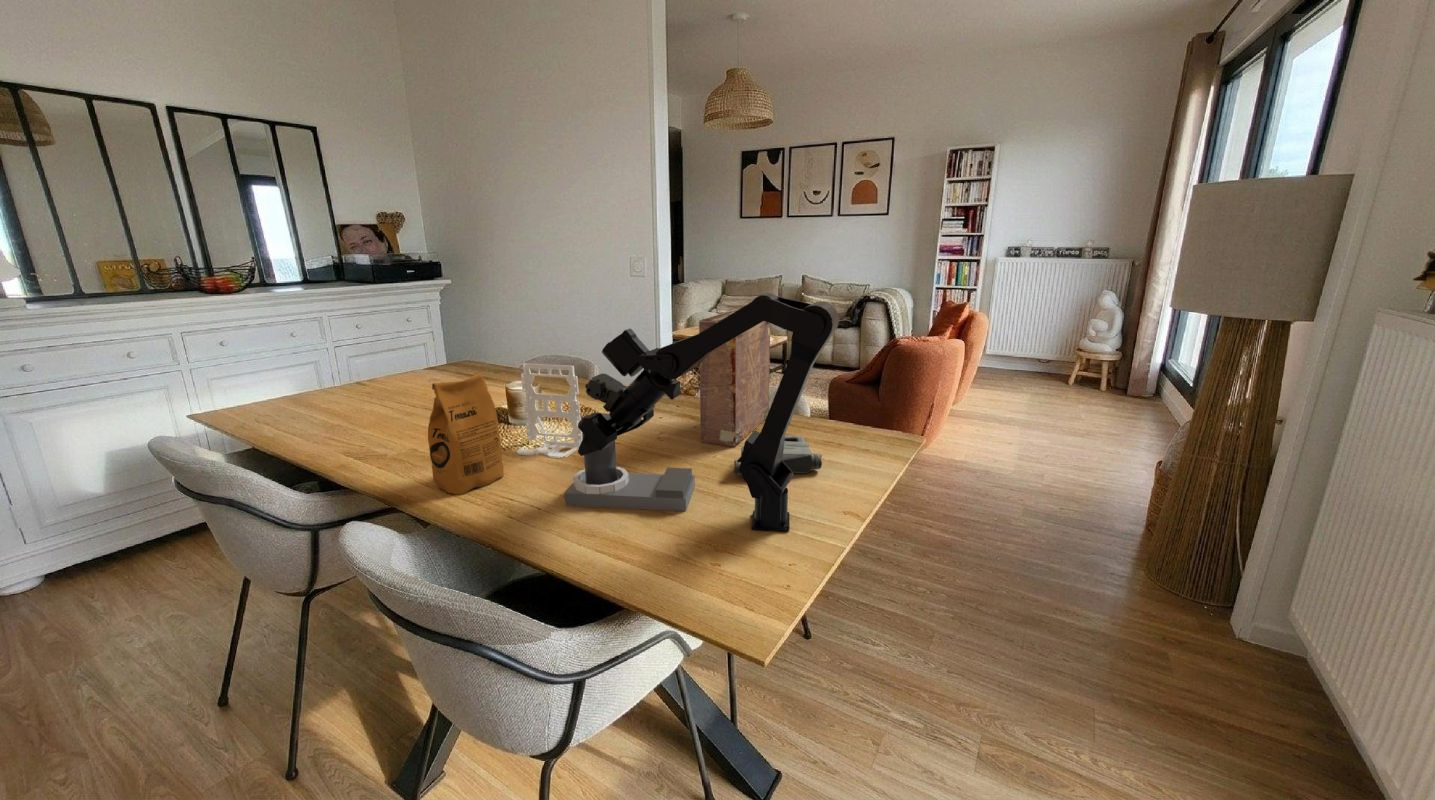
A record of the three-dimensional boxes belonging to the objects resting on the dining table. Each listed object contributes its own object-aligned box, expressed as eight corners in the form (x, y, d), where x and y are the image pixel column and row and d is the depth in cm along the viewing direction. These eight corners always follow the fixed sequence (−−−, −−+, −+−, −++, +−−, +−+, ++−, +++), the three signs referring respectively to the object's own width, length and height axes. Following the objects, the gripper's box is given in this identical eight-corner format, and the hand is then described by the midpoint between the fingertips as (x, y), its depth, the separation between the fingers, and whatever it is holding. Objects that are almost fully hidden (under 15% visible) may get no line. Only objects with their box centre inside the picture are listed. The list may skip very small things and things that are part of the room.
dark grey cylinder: (617, 487, 108) (613, 422, 104) (584, 489, 107) (579, 424, 103) (617, 474, 114) (614, 412, 110) (586, 476, 113) (581, 414, 109)
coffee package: (427, 487, 115) (411, 381, 109) (483, 467, 125) (470, 369, 119) (455, 499, 109) (439, 388, 103) (510, 477, 119) (499, 375, 113)
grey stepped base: (686, 511, 104) (685, 491, 103) (565, 505, 106) (563, 485, 105) (694, 486, 114) (694, 468, 113) (584, 482, 117) (582, 464, 116)
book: (738, 414, 162) (738, 308, 153) (769, 418, 158) (771, 309, 150) (700, 442, 139) (698, 320, 131) (735, 447, 136) (735, 322, 127)
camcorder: (829, 474, 120) (830, 451, 119) (736, 483, 116) (736, 460, 114) (801, 448, 136) (801, 428, 134) (717, 456, 131) (717, 434, 130)
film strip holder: (510, 454, 132) (501, 370, 127) (541, 435, 145) (534, 358, 140) (567, 459, 129) (559, 373, 124) (593, 439, 142) (588, 361, 136)
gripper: (637, 352, 111) (592, 401, 117) (583, 372, 94) (534, 428, 101) (675, 394, 110) (627, 441, 117) (627, 422, 93) (575, 476, 100)
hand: (593, 445), depth 109 cm, fingers open, 9 cm apart
